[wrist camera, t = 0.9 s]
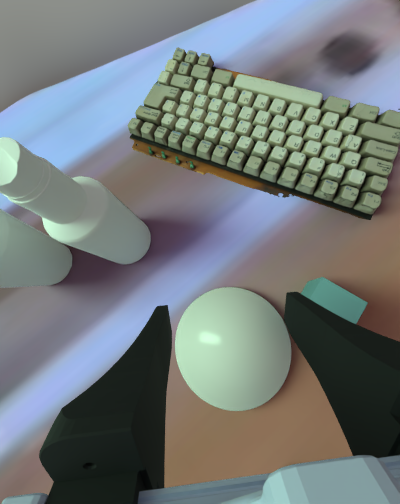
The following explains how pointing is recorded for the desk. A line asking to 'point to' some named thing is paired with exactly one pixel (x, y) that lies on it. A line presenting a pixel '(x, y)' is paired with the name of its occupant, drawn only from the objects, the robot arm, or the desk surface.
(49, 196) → the spray bottle
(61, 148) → the desk surface
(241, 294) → the dish
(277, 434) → the desk surface
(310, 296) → the teal block
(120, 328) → the desk surface
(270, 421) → the desk surface
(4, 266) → the foam cup
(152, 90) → the mechanical keyboard
